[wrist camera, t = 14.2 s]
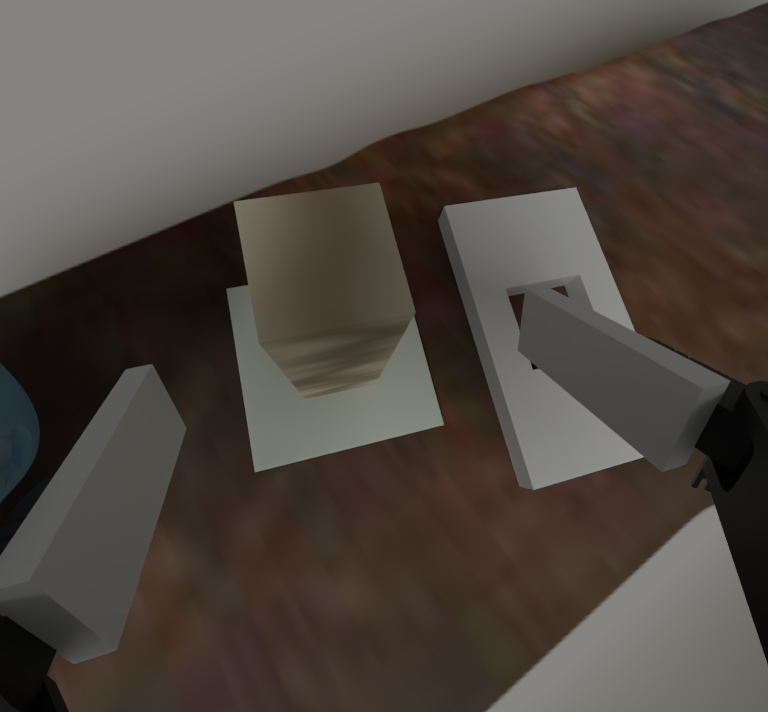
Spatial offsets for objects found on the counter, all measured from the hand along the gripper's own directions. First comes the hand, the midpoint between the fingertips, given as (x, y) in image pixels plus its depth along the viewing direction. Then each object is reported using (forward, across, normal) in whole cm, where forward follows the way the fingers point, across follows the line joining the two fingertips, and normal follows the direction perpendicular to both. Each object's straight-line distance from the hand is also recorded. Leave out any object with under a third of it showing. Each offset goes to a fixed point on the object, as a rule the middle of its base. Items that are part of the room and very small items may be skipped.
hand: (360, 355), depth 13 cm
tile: (+12, 0, -7) cm, 14 cm away
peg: (+11, -1, -6) cm, 13 cm away
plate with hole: (+11, +16, -8) cm, 21 cm away
